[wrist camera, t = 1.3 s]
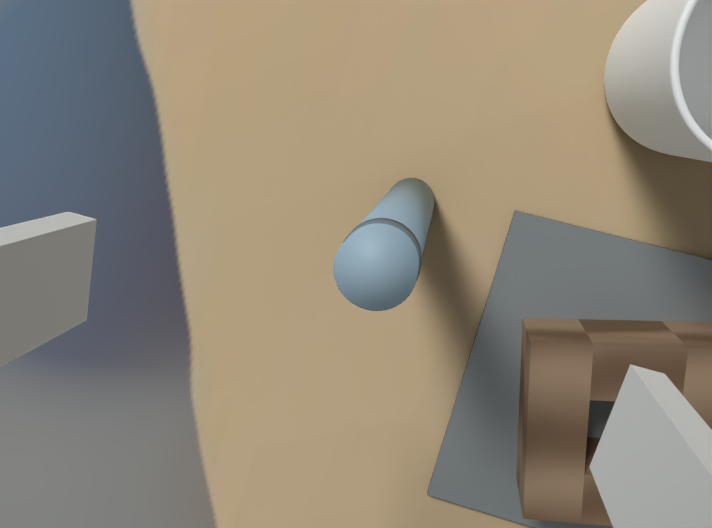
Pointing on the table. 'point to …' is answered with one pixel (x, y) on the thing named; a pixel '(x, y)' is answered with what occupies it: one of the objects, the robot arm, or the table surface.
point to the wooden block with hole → (591, 382)
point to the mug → (664, 77)
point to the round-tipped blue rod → (386, 248)
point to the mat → (557, 301)
